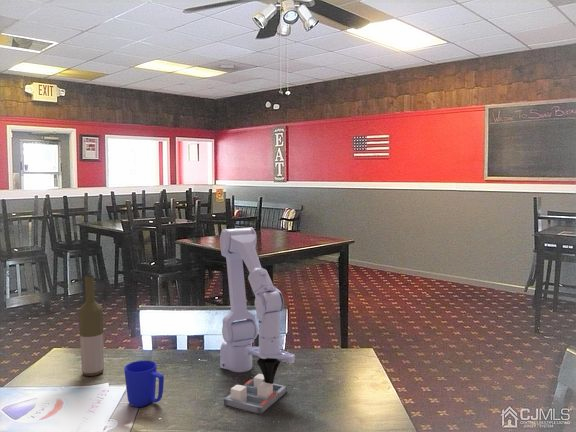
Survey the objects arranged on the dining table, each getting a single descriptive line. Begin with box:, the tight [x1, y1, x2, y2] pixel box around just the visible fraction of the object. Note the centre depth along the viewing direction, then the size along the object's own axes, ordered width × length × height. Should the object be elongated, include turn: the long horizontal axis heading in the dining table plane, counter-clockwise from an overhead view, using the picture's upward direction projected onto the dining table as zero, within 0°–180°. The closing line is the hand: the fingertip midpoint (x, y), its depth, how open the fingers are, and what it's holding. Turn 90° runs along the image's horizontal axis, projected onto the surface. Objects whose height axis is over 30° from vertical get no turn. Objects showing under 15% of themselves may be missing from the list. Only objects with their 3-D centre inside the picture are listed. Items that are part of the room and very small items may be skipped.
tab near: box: [230, 384, 247, 402], centre depth 129 cm, size 3×3×4 cm
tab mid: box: [257, 382, 273, 399], centre depth 131 cm, size 3×3×4 cm
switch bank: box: [223, 378, 288, 414], centre depth 132 cm, size 11×14×3 cm
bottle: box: [78, 274, 105, 377], centre depth 150 cm, size 7×7×30 cm
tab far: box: [253, 373, 265, 388], centre depth 137 cm, size 3×3×4 cm
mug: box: [123, 360, 165, 408], centre depth 131 cm, size 8×12×10 cm
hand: (269, 384), depth 135 cm, fingers closed
